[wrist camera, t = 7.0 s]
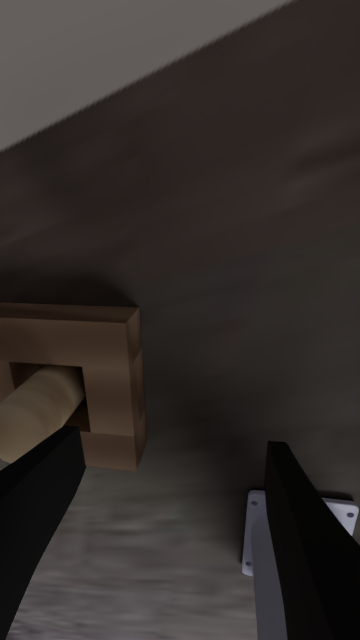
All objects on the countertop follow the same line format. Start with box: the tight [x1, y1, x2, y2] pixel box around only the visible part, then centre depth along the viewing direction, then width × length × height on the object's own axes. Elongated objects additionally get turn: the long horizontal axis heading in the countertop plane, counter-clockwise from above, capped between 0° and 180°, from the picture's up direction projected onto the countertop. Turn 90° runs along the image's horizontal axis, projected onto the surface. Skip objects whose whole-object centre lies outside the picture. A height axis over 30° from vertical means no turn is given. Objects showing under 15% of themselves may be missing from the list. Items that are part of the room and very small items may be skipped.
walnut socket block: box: [0, 303, 147, 472], centre depth 22 cm, size 11×11×3 cm
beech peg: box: [0, 364, 86, 463], centre depth 20 cm, size 4×4×7 cm
